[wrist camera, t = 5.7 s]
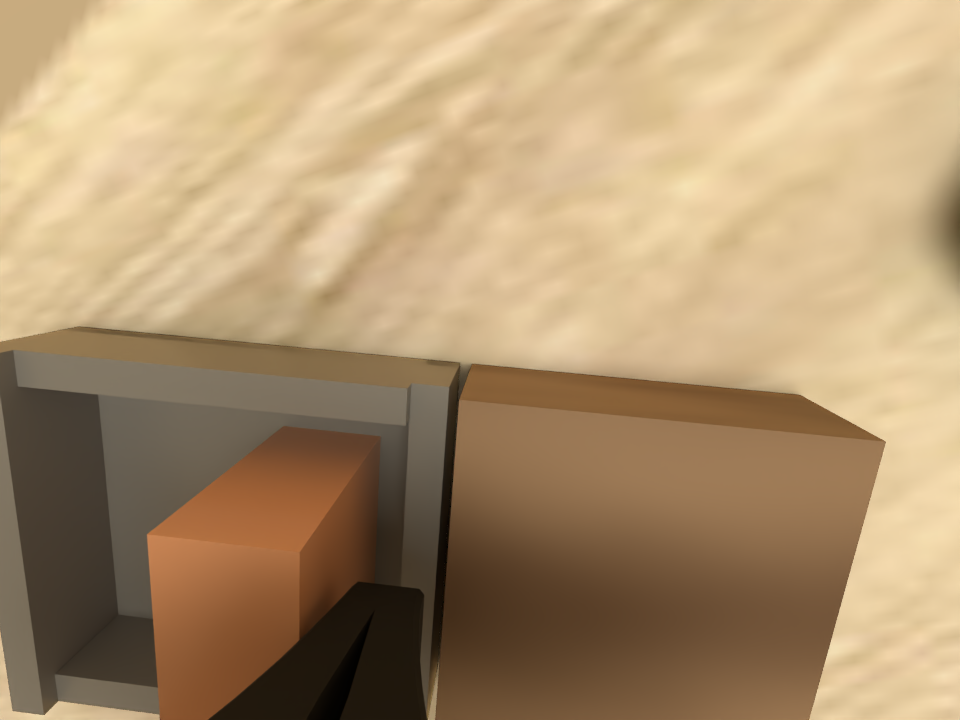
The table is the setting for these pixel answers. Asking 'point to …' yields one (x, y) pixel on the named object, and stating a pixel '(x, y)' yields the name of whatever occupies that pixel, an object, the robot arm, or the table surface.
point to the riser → (644, 549)
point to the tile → (259, 563)
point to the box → (182, 484)
